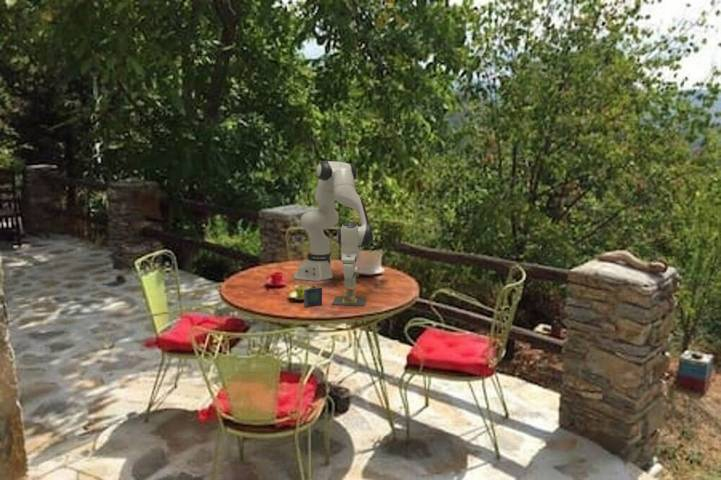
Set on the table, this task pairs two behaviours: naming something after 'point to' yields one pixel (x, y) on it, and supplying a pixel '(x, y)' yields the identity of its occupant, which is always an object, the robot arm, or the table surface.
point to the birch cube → (349, 295)
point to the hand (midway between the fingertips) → (350, 283)
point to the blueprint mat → (358, 302)
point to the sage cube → (353, 282)
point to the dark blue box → (313, 296)
